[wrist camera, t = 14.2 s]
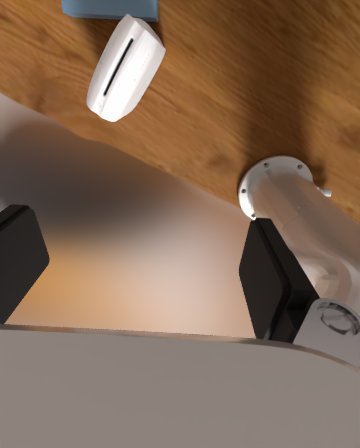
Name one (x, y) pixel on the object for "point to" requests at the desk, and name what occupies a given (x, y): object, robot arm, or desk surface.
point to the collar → (112, 9)
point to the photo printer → (125, 69)
